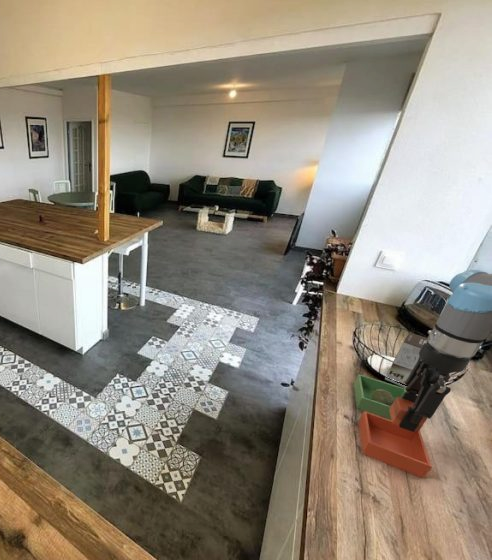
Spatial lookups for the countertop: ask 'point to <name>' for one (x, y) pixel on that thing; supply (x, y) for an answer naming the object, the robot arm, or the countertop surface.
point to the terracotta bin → (393, 444)
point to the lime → (382, 397)
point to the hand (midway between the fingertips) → (403, 420)
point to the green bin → (364, 395)
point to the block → (402, 412)
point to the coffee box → (406, 359)
